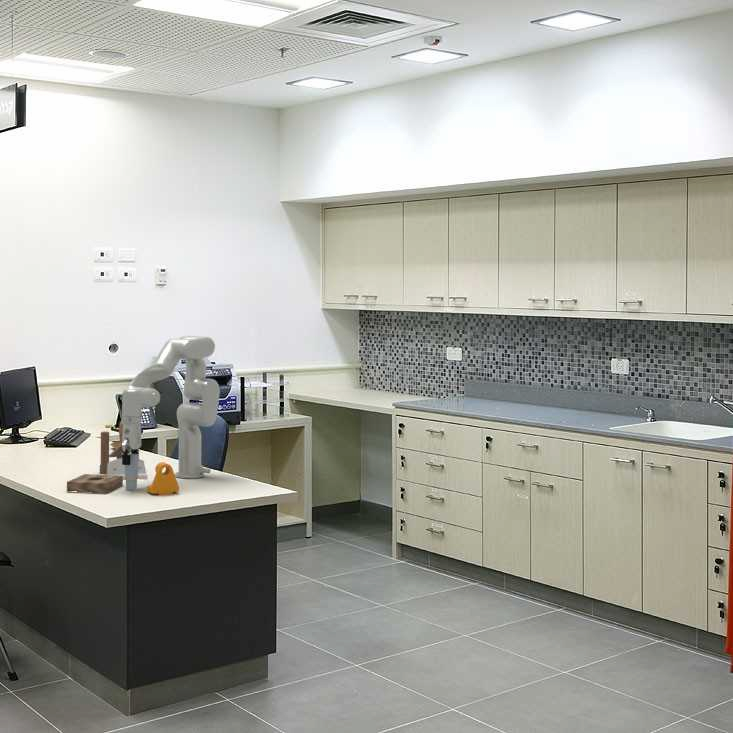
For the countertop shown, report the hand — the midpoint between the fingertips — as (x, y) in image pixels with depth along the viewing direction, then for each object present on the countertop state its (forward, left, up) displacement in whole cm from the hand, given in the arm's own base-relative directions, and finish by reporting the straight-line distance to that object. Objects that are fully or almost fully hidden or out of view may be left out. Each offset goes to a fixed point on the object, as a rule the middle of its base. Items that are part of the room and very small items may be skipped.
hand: (130, 463), depth 402 cm
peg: (0, -1, -11) cm, 11 cm away
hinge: (+10, -23, -11) cm, 27 cm away
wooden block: (+20, -35, -11) cm, 41 cm away
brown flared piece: (+37, -99, -11) cm, 106 cm away
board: (+14, +1, -11) cm, 17 cm away
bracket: (-14, +3, -11) cm, 18 cm away
